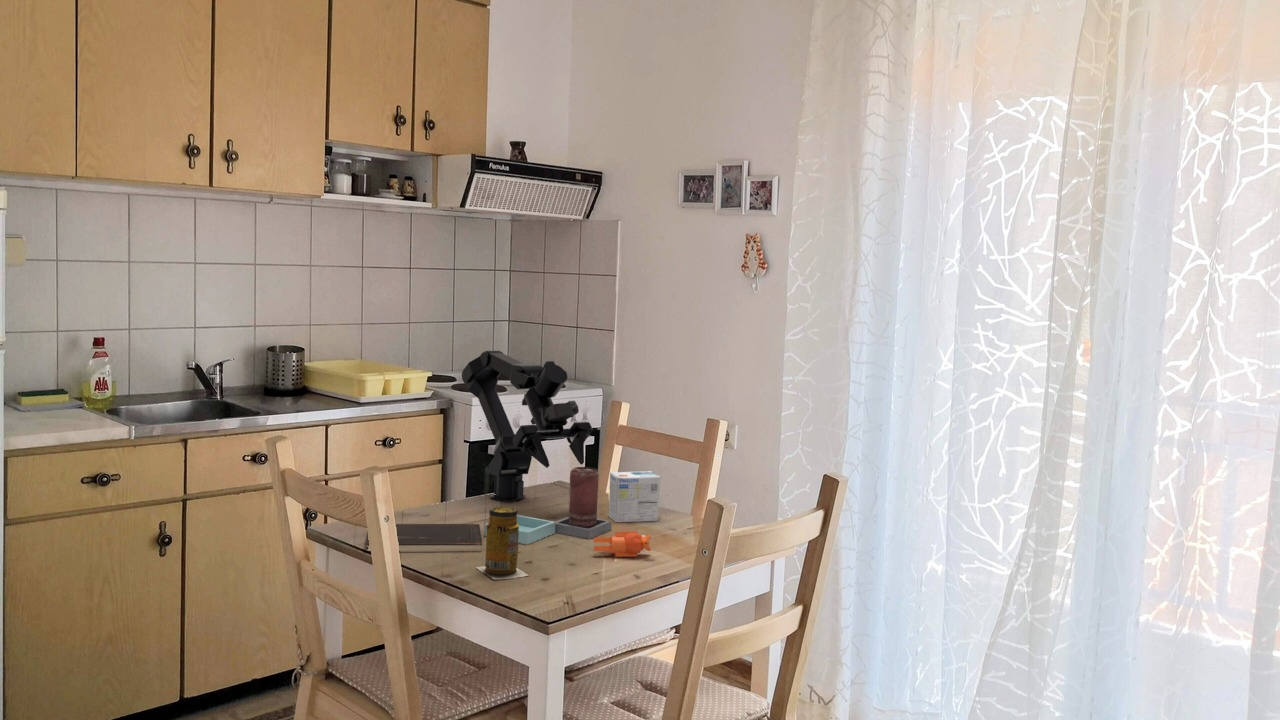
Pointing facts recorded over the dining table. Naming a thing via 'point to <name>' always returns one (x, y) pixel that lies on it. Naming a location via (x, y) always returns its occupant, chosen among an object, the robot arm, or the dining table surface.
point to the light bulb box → (634, 496)
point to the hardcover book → (438, 537)
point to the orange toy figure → (624, 543)
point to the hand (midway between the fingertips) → (565, 465)
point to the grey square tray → (565, 528)
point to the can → (583, 497)
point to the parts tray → (531, 529)
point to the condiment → (502, 545)
